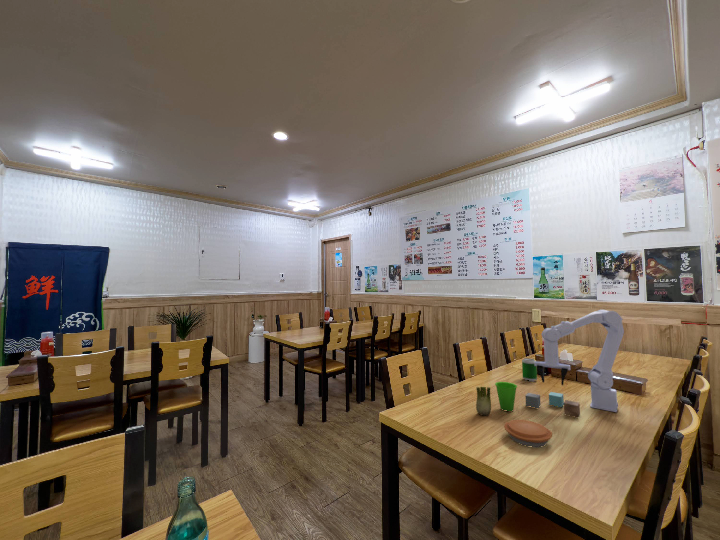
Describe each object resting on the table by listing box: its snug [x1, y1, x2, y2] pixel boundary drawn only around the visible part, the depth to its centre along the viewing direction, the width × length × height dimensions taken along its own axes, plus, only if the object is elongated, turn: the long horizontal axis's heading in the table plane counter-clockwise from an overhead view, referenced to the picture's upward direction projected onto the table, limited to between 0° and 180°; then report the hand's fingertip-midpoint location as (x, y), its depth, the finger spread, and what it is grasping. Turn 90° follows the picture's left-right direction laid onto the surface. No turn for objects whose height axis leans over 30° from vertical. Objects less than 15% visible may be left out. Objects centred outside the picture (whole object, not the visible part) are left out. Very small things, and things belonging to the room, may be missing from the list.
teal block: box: [548, 391, 565, 408], centre depth 145 cm, size 5×5×5 cm
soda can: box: [521, 357, 538, 382], centre depth 184 cm, size 8×8×12 cm
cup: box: [494, 381, 518, 412], centre depth 141 cm, size 9×9×11 cm
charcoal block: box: [524, 392, 541, 409], centre depth 144 cm, size 5×5×5 cm
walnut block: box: [563, 399, 581, 418], centre depth 134 cm, size 5×5×5 cm
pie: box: [503, 419, 553, 448], centre depth 113 cm, size 15×16×5 cm
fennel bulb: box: [475, 386, 492, 416], centre depth 135 cm, size 6×5×12 cm
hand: (552, 383), depth 147 cm, fingers open, 7 cm apart
